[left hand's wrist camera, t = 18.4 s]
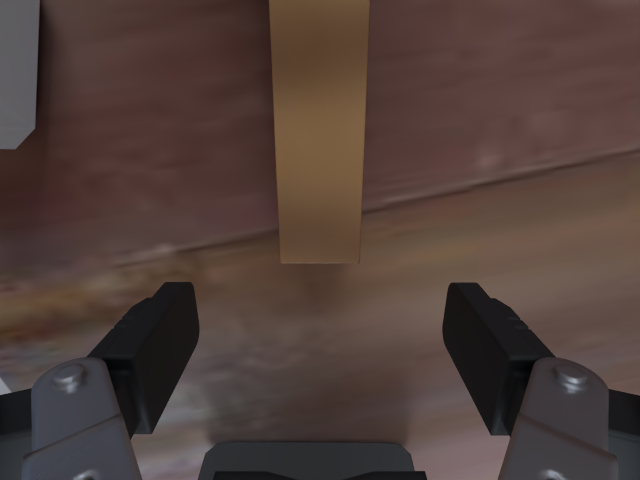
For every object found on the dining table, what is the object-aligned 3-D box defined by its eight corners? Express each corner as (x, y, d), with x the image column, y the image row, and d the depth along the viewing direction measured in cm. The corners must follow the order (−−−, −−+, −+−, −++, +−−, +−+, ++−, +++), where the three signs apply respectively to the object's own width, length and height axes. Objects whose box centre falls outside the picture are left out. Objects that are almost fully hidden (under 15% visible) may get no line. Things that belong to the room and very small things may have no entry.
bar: (350, 227, 33) (359, 263, 25) (289, 227, 33) (280, 263, 25) (361, -145, 24) (381, -262, 16) (277, -145, 24) (257, -261, 16)
